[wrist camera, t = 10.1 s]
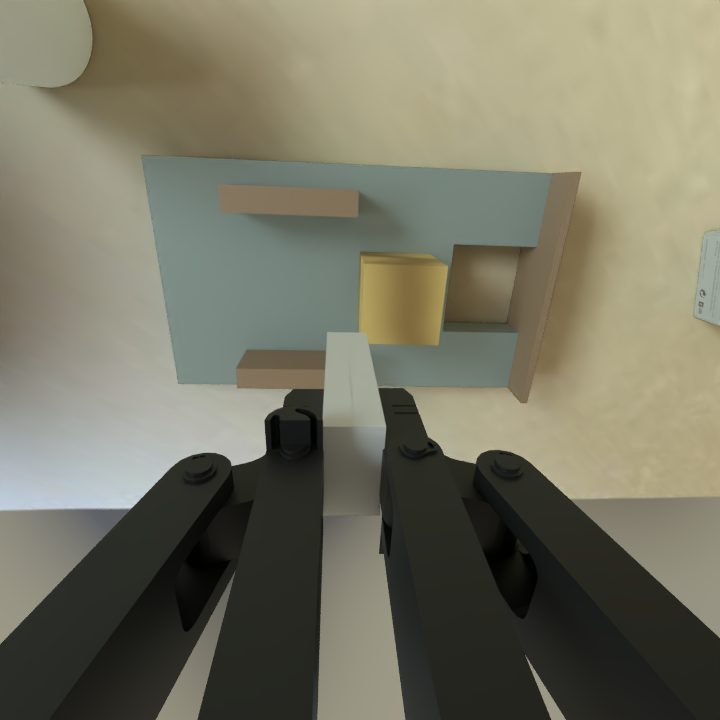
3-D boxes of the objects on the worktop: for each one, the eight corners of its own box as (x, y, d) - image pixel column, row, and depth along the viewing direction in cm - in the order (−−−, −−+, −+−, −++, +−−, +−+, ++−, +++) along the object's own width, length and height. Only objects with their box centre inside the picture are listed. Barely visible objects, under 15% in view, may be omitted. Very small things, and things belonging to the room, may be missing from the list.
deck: (188, 370, 33) (159, 406, 28) (157, 157, 27) (111, 149, 21) (502, 374, 35) (532, 409, 29) (542, 175, 28) (590, 171, 23)
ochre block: (357, 319, 30) (360, 343, 25) (359, 251, 28) (364, 263, 23) (422, 321, 30) (438, 345, 25) (430, 253, 28) (448, 266, 23)
